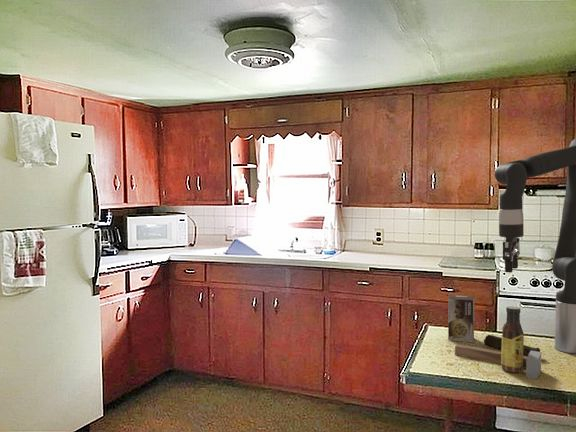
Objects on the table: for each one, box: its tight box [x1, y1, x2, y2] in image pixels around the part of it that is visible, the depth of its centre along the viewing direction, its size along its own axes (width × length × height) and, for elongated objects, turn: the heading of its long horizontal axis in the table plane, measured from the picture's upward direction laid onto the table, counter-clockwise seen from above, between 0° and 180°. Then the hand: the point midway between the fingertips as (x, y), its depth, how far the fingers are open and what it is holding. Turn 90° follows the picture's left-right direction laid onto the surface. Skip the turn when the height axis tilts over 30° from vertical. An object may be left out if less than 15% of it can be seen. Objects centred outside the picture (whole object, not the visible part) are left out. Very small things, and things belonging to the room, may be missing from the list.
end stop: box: [525, 351, 542, 380], centre depth 149 cm, size 8×3×6 cm, turn 145°
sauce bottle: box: [500, 305, 525, 373], centre depth 152 cm, size 6×6×20 cm
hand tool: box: [483, 334, 541, 356], centre depth 169 cm, size 19×4×5 cm, turn 38°
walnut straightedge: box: [454, 343, 527, 369], centre depth 161 cm, size 2×23×3 cm, turn 55°
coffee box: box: [447, 294, 475, 343], centre depth 183 cm, size 9×6×16 cm
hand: (511, 270), depth 164 cm, fingers open, 8 cm apart
